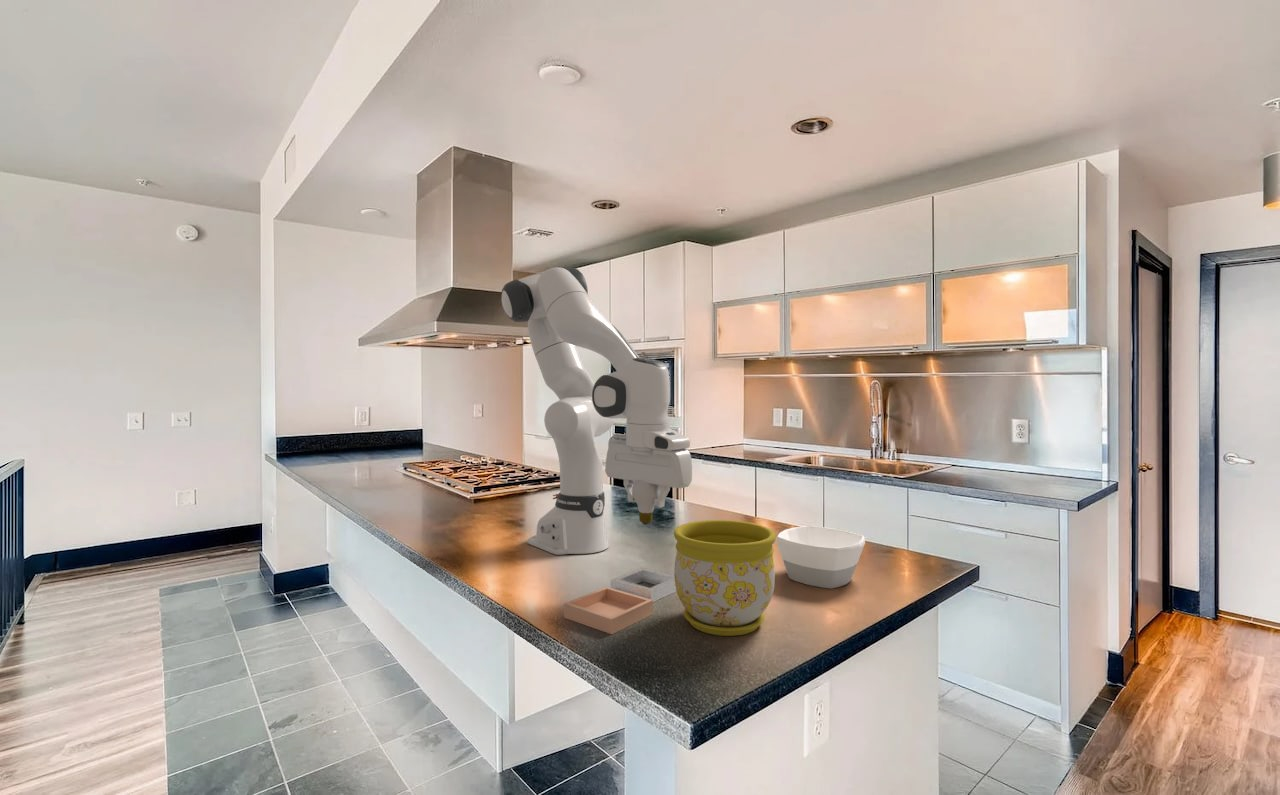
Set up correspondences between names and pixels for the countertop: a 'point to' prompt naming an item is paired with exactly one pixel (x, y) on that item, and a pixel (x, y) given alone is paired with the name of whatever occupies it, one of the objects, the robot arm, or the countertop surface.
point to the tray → (608, 609)
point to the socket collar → (630, 581)
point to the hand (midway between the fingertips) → (645, 504)
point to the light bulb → (645, 499)
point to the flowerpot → (724, 574)
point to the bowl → (820, 555)
